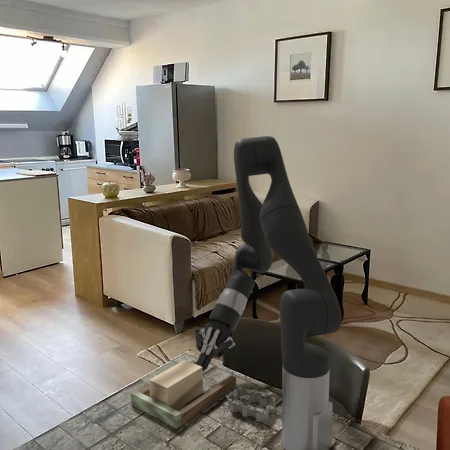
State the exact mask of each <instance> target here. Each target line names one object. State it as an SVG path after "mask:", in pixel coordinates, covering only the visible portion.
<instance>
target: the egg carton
mask: <svg viewBox="0 0 450 450" xmlns="http://www.w3.org/2000/svg"><path fill="white" fill-rule="evenodd" d="M225 397H226V399H227V406H228V408H229V412H231V413H235V412H240V413H242V416H243V417H244V418H247V417H251V416H252V417H254V418H255V421H256V422H261V421H267V420H269V417H270V415H269V414H270V413H272V414H273V413H275V412H276V402H275V400H276V399H277V397H278V394H277V393H274V392H273V391H265V392H263V391H261V390H260V391H256V390H255V389H247V388H245V389H244V388H243V387H240V386H238V387H237V388H235V389H234V390H233V391H232V390H231V392H229V394H228V395H225ZM255 402H257V403H259V405H260V406H261V407H265V409H262V408H261V407H254V406H252V405H251V403H255Z"/></svg>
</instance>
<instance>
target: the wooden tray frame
mask: <svg viewBox="0 0 450 450" xmlns="http://www.w3.org/2000/svg"><path fill="white" fill-rule="evenodd" d="M189 362H191V363H194V364H196V362H197V361H196V360H194V359H191V360H190V361H189ZM236 387H237V377H236V376H234V375H230V376H228V377H227V378H225V379H224V380H223V381H220V382H219V383H218V384H216V385H215V386H213V387H212V388H210V389H209V390H208V391H206V392H204V393H202V394H201V395H199V396H198V397H196V399H193V401H190V403H187V405H184V407H181V409H178V410H174V409H172V408H170V407H168V406H166V405H164V404H162V403H160V402H158V401H156V400H154V399H152V398H150V387H149V384H148V385H146V386H145V387H142V388H141V389H139V390H134V391H132V392H131V393H130V401H131V405H132V406H134V407H135V408H137V409H139V410H141V411H142V412H145V413H147V414H148V415H150V416H152V417H154V418H156V419H158V420H159V421H161V422H163V423H165V424H167V425H170V427H173V428H175V429H179V428H180V427H181V426H183V425H184V424H185V423H187V422H188V421H189V420H190V419H192V418H193V417H196V416H197V415H198V414H199V413H201V412H203V411H204V410H205V409H207V408H208V407H209V406H211V405H212V404H214V403H215V402H216V401H218V400H219V399H221V398H222V397H224V395H225V396H226V394H227V393H230V391H232V390H233V389H234V388H235V389H236Z"/></svg>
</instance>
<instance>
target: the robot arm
mask: <svg viewBox="0 0 450 450" xmlns="http://www.w3.org/2000/svg"><path fill="white" fill-rule="evenodd" d="M233 162H234V173H235V180H236V188H237V194H238V201H239V207H240V209H239V210H240V237H241V240H242V242H243V243H242V244H240V245H239V246H238V247H237V248H236V250H235V254H234V259H233V260H234V261H233V264H232V270H231V274H230V277H229V278H228V281H227V282H226V285H225V286H224V289H223V291H222V292H221V293H220V294H219V297H218V299H217V301H216V303H215V304H214V307H213V309H212V311H211V313H210V315H209V320H208V322H207V323H206V324H205V325H204V327H202V328H201V329H199V328H196V329H195V330H194V335H195V342H196V349H198V351H199V352H200V355H199V356H198V358H197V361H196V365H199V366H201V367H202V372H205V371H206V370H207V369H208V368H209V366H210V363H211V361H212V360H213V359H214V358H216V359H220V358H222V357H223V356H224V355H226V354H227V353H229V352H230V351H232V350H234V348H236V347H237V345H236V343H235V342H234V340H233V335H234V334H233V333H234V331H235V330H236V328H237V326H238V324H239V322H240V319H241V317H242V315H243V313H244V311H245V308H246V305H247V302H248V300H249V297H250V295H251V294H252V291H253V290H254V287H255V280H254V279H253V278H252V276H250V275H248V274H247V273H245V272H244V270H245V269H246V270H249V271H253V272H256V273H259V274H264V273H267V272H268V271H269V270H270V269H271V267H272V265H273V253H272V252H274V253H275V254H276V255H277V256H278V257H279V258H281V259H282V260H283V262H285V263H286V264H288V265H289V266H290V268H292V269H293V270H294V271H295V273H297V274H298V276H299V277H300V279H301V280H302V282H303V285H304V286H305V287H304V288H296V289H294V288H293V289H288V290H285V291H284V292H283V294H281V298H280V303H279V322H280V343H281V344H280V347H281V357H282V378H281V381H282V386H281V387H282V390H281V391H282V393H281V396H282V397H281V402H282V403H281V407H282V408H281V410H282V411H281V444H282V446H283V448H284V449H285V450H328V449H329V448H330V447H331V446H332V435H333V434H332V433H333V406H334V405H333V402H332V401H330V400H329V399H330V398H329V397H330V396H329V394H330V368H331V366H330V365H331V359H330V355H329V353H328V352H327V351H326V350H325V349H324V348H322V347H321V346H318V345H316V344H314V343H309V342H305V339H306V338H308V337H315V336H317V337H318V336H325V335H329V334H334V333H336V332H338V330H340V328H341V325H342V313H341V312H342V311H341V307H340V303H339V300H338V298H337V296H336V295H337V294H336V292H335V290H334V289H333V286H332V284H331V282H330V279H329V278H328V276H327V273H326V272H325V270H324V268H323V266H322V264H321V262H320V260H319V257H318V255H317V253H316V250H315V246H314V245H313V242H312V239H311V237H310V235H309V232H308V228H307V225H306V221H305V220H304V217H303V214H302V210H301V209H300V207H299V204H298V202H297V199H296V196H295V194H294V192H293V189H292V186H291V184H290V183H291V182H290V180H289V177H288V173H287V171H286V166H285V163H284V159H283V154H282V151H281V148H280V145H279V144H278V141H277V139H276V138H275V137H273V136H270V135H269V136H267V135H263V136H256V137H255V136H253V137H245V138H240V139H237V141H235V143H234V148H233ZM260 175H269V176H270V179H271V182H270V186H269V189H268V191H267V193H266V196H265V198H264V200H263V203H262V202H261V201H260V199H259V198H258V196H257V195H256V194H255V192H254V190H253V189H252V186H251V184H250V178H249V177H254V176H260Z"/></svg>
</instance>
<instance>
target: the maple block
mask: <svg viewBox="0 0 450 450" xmlns="http://www.w3.org/2000/svg"><path fill="white" fill-rule="evenodd" d="M203 373H204V372H203V371H202V367H201V366H199V365H196V364H194V363H191V362H190V361H188V360H186V359H183V360H182V361H180V362H178V363H177V364H174V365H173V366H171V367H169V368H167V369H166V370H164V371H162V372H160V373H159V374H157V375H155V376H153V377H152V378H150V379H149V380H148V382H149V383H148V385H149V387H150V398H152V399H154V400H156V401H158V402H160V403H162V404H164V405H166V406H168V407H170V408H172V409H174V410H176V411H179V410H180V408H183V406H186V404H189V402H192V400H195V398H198V397H199V396H201V395H202V394H204V381H203V379H204V378H203V375H204V374H203Z"/></svg>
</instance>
